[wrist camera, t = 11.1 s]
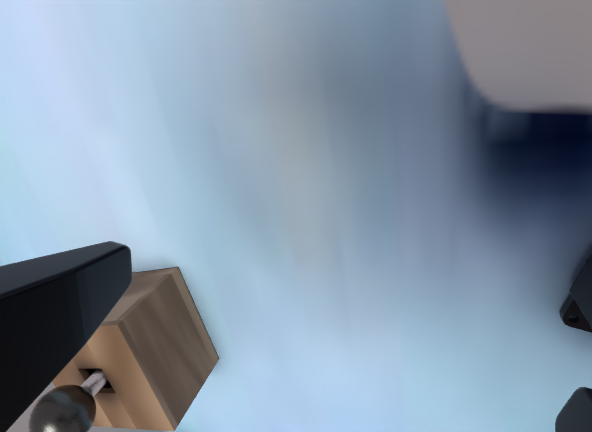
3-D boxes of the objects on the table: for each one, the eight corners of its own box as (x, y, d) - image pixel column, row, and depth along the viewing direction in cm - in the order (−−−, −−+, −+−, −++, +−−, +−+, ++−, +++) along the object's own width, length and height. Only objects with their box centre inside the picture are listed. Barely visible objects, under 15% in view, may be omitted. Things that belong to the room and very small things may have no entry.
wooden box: (178, 267, 26) (117, 324, 20) (219, 359, 28) (174, 431, 23) (92, 278, 29) (19, 331, 23) (136, 361, 31) (80, 425, 26)
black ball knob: (164, 288, 26) (49, 400, 18) (197, 357, 28) (107, 487, 20) (99, 295, 28) (-30, 398, 20) (134, 359, 30) (29, 476, 22)
